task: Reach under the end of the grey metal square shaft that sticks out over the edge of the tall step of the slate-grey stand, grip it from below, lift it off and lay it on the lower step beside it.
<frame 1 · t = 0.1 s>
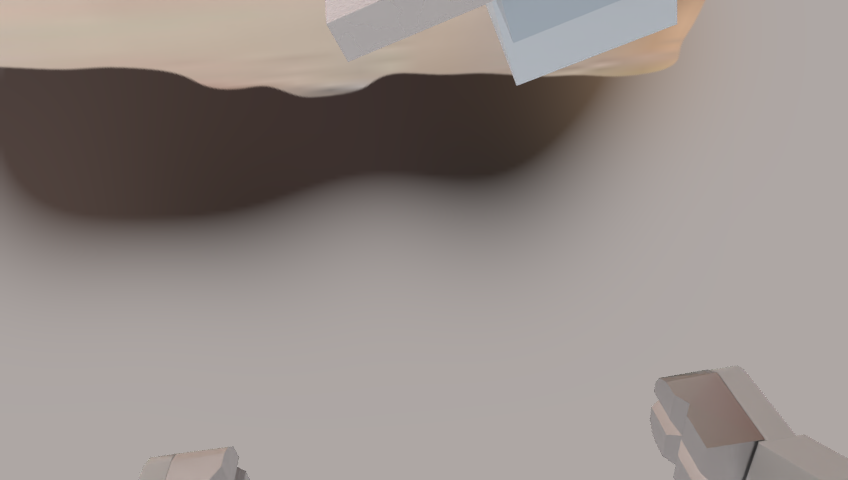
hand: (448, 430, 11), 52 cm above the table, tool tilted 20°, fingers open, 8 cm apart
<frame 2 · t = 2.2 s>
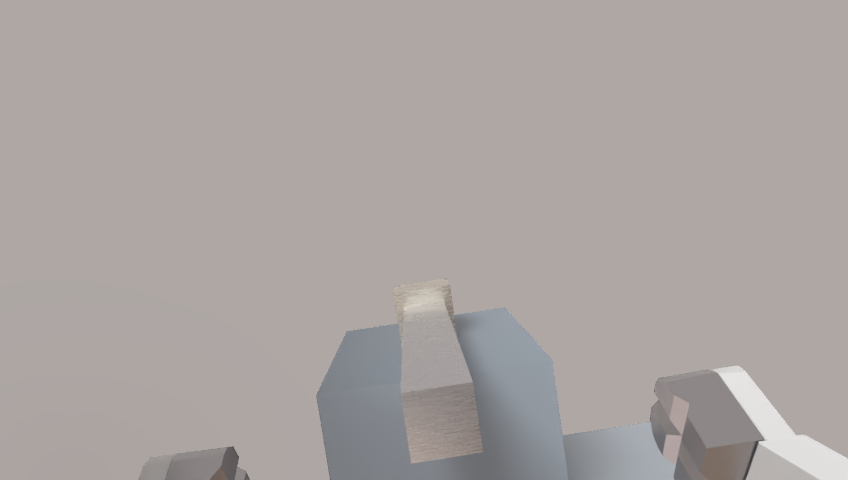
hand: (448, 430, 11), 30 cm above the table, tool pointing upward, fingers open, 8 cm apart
keyed shaft: (434, 371, 29), point 26 cm above the table, touching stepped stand
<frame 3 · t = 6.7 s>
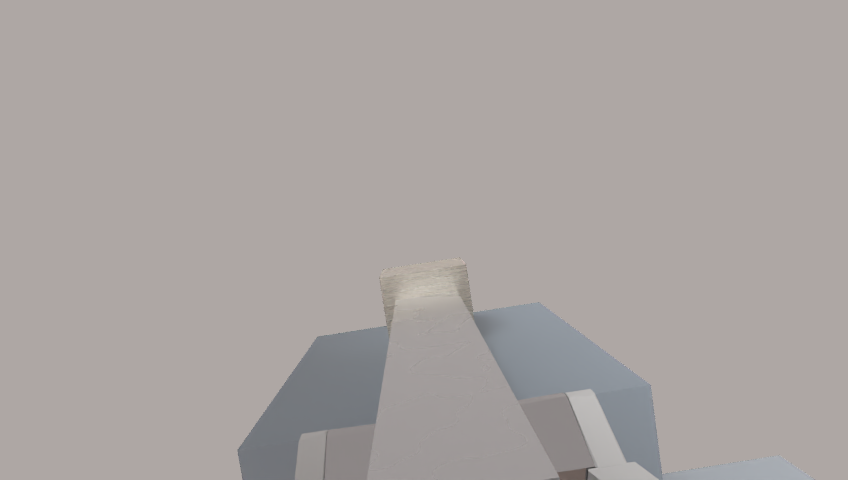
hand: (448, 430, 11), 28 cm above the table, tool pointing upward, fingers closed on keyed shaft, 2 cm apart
keyed shaft: (443, 404, 17), point 26 cm above the table, touching gripper, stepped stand
when the fingers open (18 cm above the table, at t = 13.9 s): keyed shaft drops 1 cm, resting on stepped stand.
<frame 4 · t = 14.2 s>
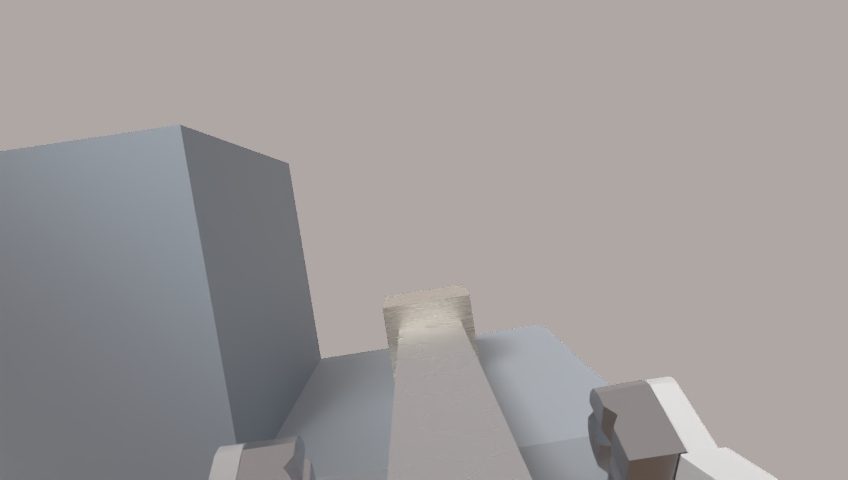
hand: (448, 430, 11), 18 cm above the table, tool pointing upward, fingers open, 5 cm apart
keyed shaft: (448, 444, 17), point 15 cm above the table, touching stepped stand
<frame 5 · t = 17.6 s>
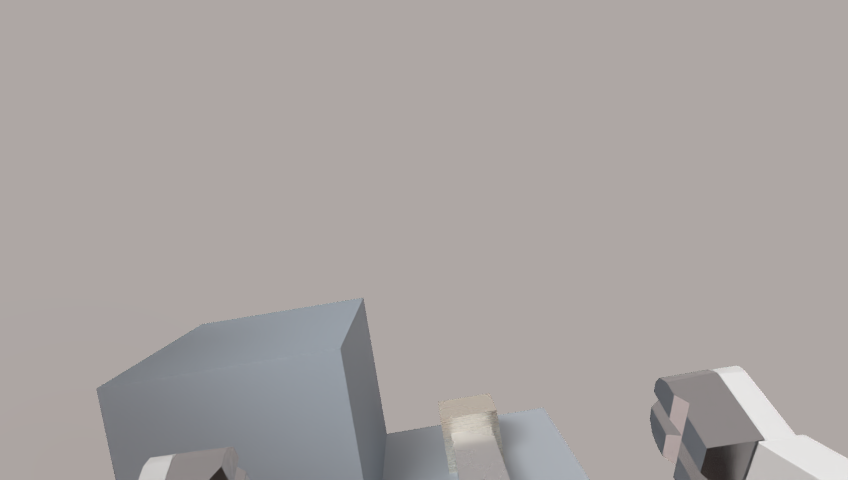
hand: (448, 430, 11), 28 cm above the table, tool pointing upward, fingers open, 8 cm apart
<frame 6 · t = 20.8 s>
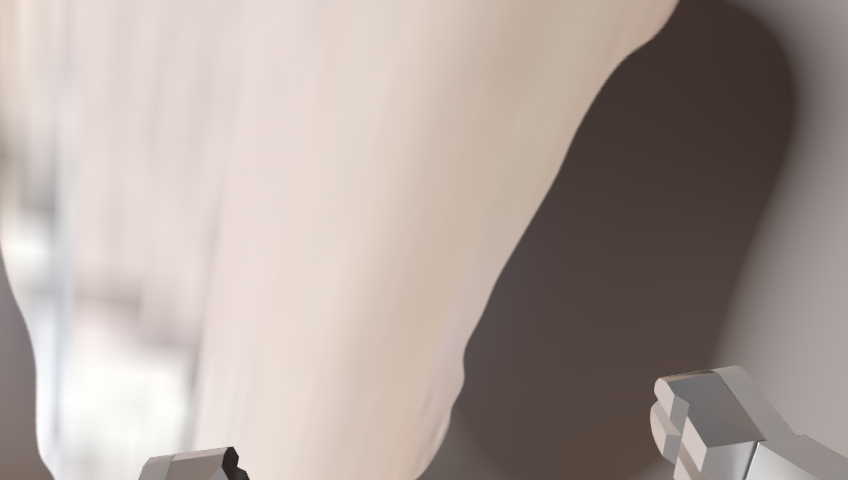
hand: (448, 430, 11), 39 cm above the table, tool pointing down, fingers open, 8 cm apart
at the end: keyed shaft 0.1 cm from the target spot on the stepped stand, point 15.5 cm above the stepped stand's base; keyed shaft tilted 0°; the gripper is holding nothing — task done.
